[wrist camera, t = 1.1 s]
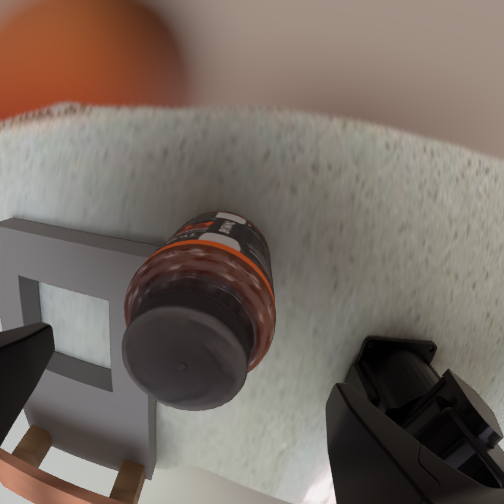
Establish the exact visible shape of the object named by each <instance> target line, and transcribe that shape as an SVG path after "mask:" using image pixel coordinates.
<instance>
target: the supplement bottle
mask: <svg viewBox="0 0 504 504" xmlns="http://www.w3.org/2000/svg"><path fill="white" fill-rule="evenodd" d="M124 318H125V324H126V328H127V329H126V331H125V333H124V335H123V339H122V360H123V363H124V366H125V369H126V370H127V372H128V374H129V376H130V378H131V379H132V380H133V382H134V383H135V384H136V385H137V386H138V387H139V388H140V389H141V390H142V391H143V392H145V393H146V394H147V395H148V396H149V397H151V398H153V399H155V400H156V401H158V402H160V403H162V404H164V405H166V406H170V407H173V408H176V409H181V410H189V411H200V410H208V409H213V408H216V407H219V406H222V405H223V404H225V403H227V402H229V401H230V400H232V399H233V398H234V397H235V395H237V394H238V392H239V391H240V390H241V388H242V387H243V385H244V383H245V380H246V377H247V373H248V372H250V371H251V370H252V369H254V368H255V367H256V366H257V365H258V364H259V363H260V362H261V361H262V359H263V357H264V356H265V355H266V353H267V352H268V350H269V347H270V345H271V342H272V340H273V336H274V331H275V323H276V310H275V299H274V289H273V280H272V272H271V263H270V255H269V251H268V247H267V244H266V241H265V239H264V237H263V236H262V234H261V232H260V231H259V230H258V229H257V227H255V226H254V225H253V224H252V223H251V222H250V221H248V220H247V219H245V218H243V217H241V216H239V215H237V214H233V213H230V212H223V211H221V212H220V211H217V212H209V213H206V214H203V215H200V216H198V217H196V218H194V219H192V220H191V221H189V222H187V223H186V224H185V225H184V226H183V227H181V229H180V230H178V231H177V232H176V233H175V234H174V235H173V236H172V237H171V238H170V239H169V240H168V241H167V242H165V243H164V244H163V245H162V246H161V247H160V248H158V249H157V250H156V251H155V252H154V253H153V254H152V255H151V256H150V257H149V258H148V259H147V260H146V261H145V262H144V263H143V265H142V266H141V267H140V268H139V269H138V270H137V271H136V273H135V274H134V276H133V278H132V279H131V282H130V284H129V286H128V289H127V292H126V295H125V301H124Z"/></svg>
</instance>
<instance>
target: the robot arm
mask: <svg viewBox="0 0 504 504" xmlns="http://www.w3.org/2000/svg"><path fill="white" fill-rule="evenodd" d="M371 342H373V344H372V345H369V343H371ZM431 347H432V348H431ZM430 348H431V349H430ZM429 349H430V350H429ZM54 350H55V345H54V337H53V329H52V327H51V325H49V324H46V323H43V322H38V323H34V324H30V325H26V326H22V327H18V328H14V329H10V330H6V331H2V332H0V446H1V444H2V443H3V441H4V439H5V437H6V436H7V434H8V432H9V430H10V429H11V427H12V425H13V423H14V422H15V420H16V419H17V417H18V415H19V414H20V412H21V410H22V409H23V407H24V405H25V404H26V402H27V401H28V399H29V398H30V396H31V394H32V393H33V391H34V390H35V388H36V386H37V384H38V383H39V381H40V379H41V377H42V375H43V373H44V371H45V369H46V367H47V365H48V363H49V361H50V359H51V357H52V355H53V353H54ZM436 350H437V346H436V344H435V343H434V342H428V341H415V340H403V339H393V338H382V337H373V336H372V337H368V338H366V339H365V341H364V343H363V345H362V348H361V351H360V353H359V356H358V358H357V361H356V362H355V363H354V364H353V365H352V368H351V370H350V373H349V375H348V378H347V380H346V382H345V383H336V384H335V385H334V386H333V388H332V391H331V393H330V396H329V398H328V400H327V403H326V427H327V447H328V455H329V461H330V467H331V473H332V478H333V484H334V491H335V497H336V503H337V504H504V451H503V450H502V449H501V447H500V446H499V445H498V442H499V441H500V440H501V439H502V438H503V437H504V436H503V433H502V431H501V428H500V426H499V424H498V421H497V419H496V417H495V415H494V413H493V411H492V410H491V409H490V407H489V406H488V405H487V404H486V403H485V402H484V400H483V399H482V398H481V397H480V396H479V395H478V393H477V392H476V391H474V390H473V389H472V388H471V387H470V386H468V385H467V384H466V383H465V382H464V381H463V380H461V379H460V378H459V377H458V376H457V375H455V374H454V373H453V372H452V371H451V370H450V369H447V370H446V371H445V373H444V374H443V375H442V376H443V377H442V378H441V377H440V376H439V375H438V373H437V372H436V371H435V370H434V368H433V367H432V366H431V364H430V363H431V361H432V359H433V357H434V355H435V352H436Z"/></svg>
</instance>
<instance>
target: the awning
mask: <svg viewBox="0 0 504 504" xmlns="http://www.w3.org/2000/svg"><path fill="white" fill-rule="evenodd" d="M51 446H52V441H51V438H50V435H49V433H48V431H45V430H43V429H41V428H39V427H37V426H35V425H33V424H32V425H31V427H30V428H29V429H28V431H27V432H26V434H25V435H24V436H23V438H22V439H21V441H20V442H19V444H18V445H17V447H16V448H15V450H14V451H13V452H12V454H10V453H8V452H6V451H5V450H3V449H1V448H0V482H1V483H2V485H3V486H5V487H6V488H8V489H9V490H11V491H13V492H15V493H16V494H18V495H20V496H22V497H23V498H26V499H27V500H29V501H31V502H33V503H35V504H137V503H138V500H139V497H140V493H141V490H142V487H143V483H144V480H145V477H146V475H145V466H144V465H141V464H137V463H133V462H130V461H127V460H123V462H122V465H121V467H120V470H119V473H118V475H117V478H116V481H115V483H114V486H113V489H112V491H111V494H110V497H106V496H103V495H100V494H97V493H94V492H92V491H89V490H86V489H84V488H81V487H78V486H76V485H74V484H71V483H69V482H66V481H64V480H62V479H59V478H57V477H55V476H53V475H51V474H49V473H46V472H44V471H42V470H40V469H38V467H39V466H40V464H41V462H42V460H43V459H44V457H45V456H46V454H47V452H48V451H49V449H50V447H51Z"/></svg>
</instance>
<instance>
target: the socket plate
mask: <svg viewBox="0 0 504 504" xmlns="http://www.w3.org/2000/svg"><path fill="white" fill-rule="evenodd" d="M160 247H161V246H156V245H150V244H145V243H140V242H134V241H129V240H124V239H118V238H113V237H108V236H103V235H98V234H92V233H87V232H82V231H77V230H72V229H67V228H61V227H56V226H51V225H46V224H41V223H36V222H31V221H26V220H21V219H16V218H10V219H7V220H4V221H1V222H0V318H1V324H2V329H3V331H6V330H10V329H14V328H18V327H22V326H26V325H30V324H34V323H38V322H42V320H41V311H40V301H39V289H38V281H39V282H43V283H46V284H49V285H53V286H56V287H60V288H63V289H67V290H71V291H74V292H78V293H82V294H86V295H89V296H93V297H97V298H101V299H105V300H109V328H110V356H111V370H110V369H106V368H103V367H100V366H97V365H93V364H90V363H87V362H84V361H81V360H78V359H75V358H72V357H69V356H66V355H63V354H60V353H58V352H55V351H54V353H53V355H52V357H51V359H50V361H49V363H48V365H47V367H46V369H45V371H44V373H43V375H42V377H41V379H40V381H39V383H38V384H37V386H36V388H35V390H34V391H33V393H32V394H31V396H30V398H29V399H28V401H27V402H26V404H25V405H24V407H23V409H24V412H25V415H26V417H27V420H28V423H29V426H30V427H31V425H32V424H33V425H35V426H37V427H39V428H41V429H43V430H45V431H48V433H49V435H50V438H51V441H52V446H53V447H55V448H58V449H60V450H62V451H65V452H67V453H69V454H72V455H74V456H77V457H80V458H82V459H85V460H87V461H90V462H93V463H96V464H99V465H101V466H104V467H107V468H110V469H114V470H117V471H119V470H120V467H121V465H122V462H123V460H127V461H130V462H133V463H137V464H141V465H144V466H145V475H146V477H145V479H148V480H151V478H152V475H153V472H154V468H155V465H156V400H155V399H153V398H151V397H149V396H148V395H147V394H146V393H145V392H143V391H142V390H141V389H140V388H139V387H138V386H137V385H136V384H135V383H134V382H133V380H132V379H131V378H130V376H129V374H128V372H127V370H126V369H125V366H124V363H123V360H122V339H123V335H124V333H125V331H126V329H127V328H126V324H125V318H124V301H125V295H126V292H127V289H128V286H129V284H130V282H131V279H132V278H133V276H134V274H135V273H136V271H137V270H138V269H139V268H140V267H141V266H142V265H143V263H144V262H145V261H146V260H147V259H148V258H149V257H150V256H151V255H152V254H153V253H154V252H155V251H156V250H157V249H158V248H160Z"/></svg>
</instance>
